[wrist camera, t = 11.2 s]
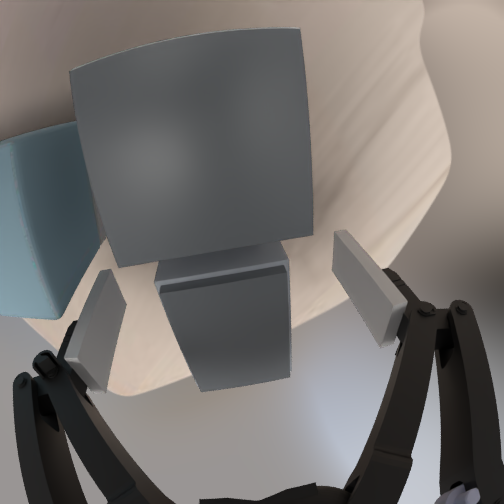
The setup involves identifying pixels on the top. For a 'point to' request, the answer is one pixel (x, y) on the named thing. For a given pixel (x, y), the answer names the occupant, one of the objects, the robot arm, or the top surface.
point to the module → (230, 314)
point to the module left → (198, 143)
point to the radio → (45, 221)
